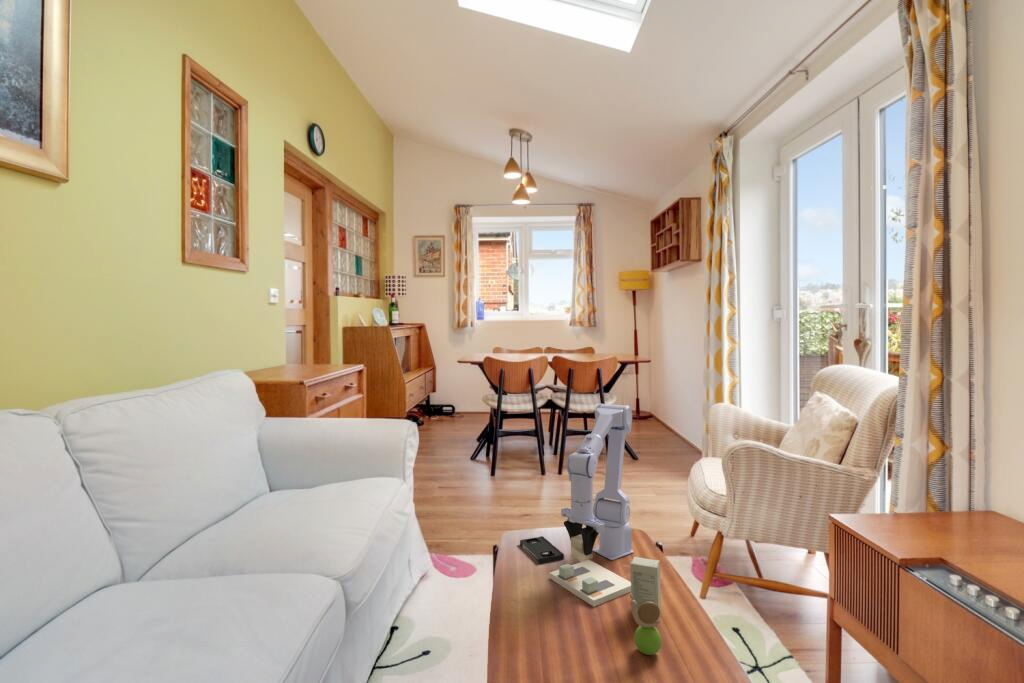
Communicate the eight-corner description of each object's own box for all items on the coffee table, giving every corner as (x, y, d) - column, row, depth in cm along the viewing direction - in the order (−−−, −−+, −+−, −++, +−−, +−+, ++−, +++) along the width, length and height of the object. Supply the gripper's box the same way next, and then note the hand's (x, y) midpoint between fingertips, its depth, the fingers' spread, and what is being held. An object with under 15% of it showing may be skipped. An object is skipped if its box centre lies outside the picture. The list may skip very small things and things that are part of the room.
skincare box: (661, 612, 116) (661, 560, 116) (658, 621, 113) (658, 568, 112) (633, 606, 119) (633, 555, 119) (630, 615, 115) (630, 562, 115)
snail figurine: (625, 645, 104) (625, 588, 104) (655, 643, 105) (655, 586, 104) (634, 662, 99) (634, 601, 99) (665, 660, 99) (665, 600, 99)
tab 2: (591, 586, 125) (591, 576, 125) (597, 590, 123) (597, 580, 123) (582, 589, 124) (582, 580, 124) (588, 593, 122) (588, 584, 122)
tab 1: (567, 572, 133) (567, 563, 133) (573, 575, 131) (573, 566, 131) (559, 575, 131) (559, 566, 131) (565, 578, 129) (565, 569, 129)
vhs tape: (519, 546, 155) (519, 540, 155) (542, 542, 158) (542, 536, 158) (539, 565, 141) (539, 558, 141) (563, 561, 144) (563, 554, 144)
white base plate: (588, 564, 141) (588, 559, 141) (634, 590, 127) (634, 583, 127) (549, 578, 133) (549, 572, 133) (593, 606, 119) (593, 600, 119)
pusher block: (582, 552, 133) (582, 533, 133) (592, 558, 130) (592, 538, 130) (571, 556, 131) (570, 537, 131) (581, 562, 127) (581, 542, 127)
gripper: (552, 494, 134) (552, 545, 134) (589, 510, 122) (590, 565, 122) (572, 490, 138) (572, 539, 138) (610, 504, 126) (610, 558, 126)
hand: (582, 551), depth 130 cm, fingers closed on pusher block, 4 cm apart
